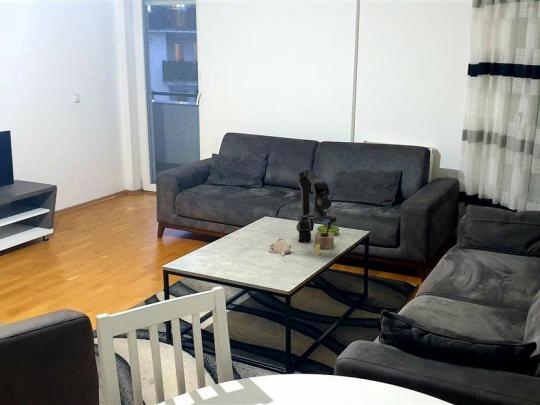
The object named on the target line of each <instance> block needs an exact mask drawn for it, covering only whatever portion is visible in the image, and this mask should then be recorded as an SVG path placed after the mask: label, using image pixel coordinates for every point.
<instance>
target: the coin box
mask: <svg viewBox="0 0 540 405" xmlns="http://www.w3.org/2000/svg"><path fill="white" fill-rule="evenodd" d="M334 236H335V233H331V232H328V233H327V232H319V231H316V232H315V235H314V246H315V245H316V244H320V250H324V249H332V250H331V251H334V245H333V244H335V243H334V242H335V240H334V238H335V237H334Z"/></svg>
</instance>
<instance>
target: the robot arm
mask: <svg viewBox="0 0 540 405" xmlns="http://www.w3.org/2000/svg"><path fill="white" fill-rule="evenodd" d="M296 181H297V185H298V186H299V188H300V198H301V199H300V200H301V203H300V204H301V214H300V216H299V218H298V222H297V225H296V231H297V232H298V243H310V242H311V241H312V232H313V231H314V227H315V223H314V222H321V223H322V222H324V221H323V220H324V219H325V220H327V223H328V227H327V233H328V231H329V228H330V226H332V224H334V223H336V222H337V219H338V217H337V214H336V213H334V214H329V216H327V213H328V212H327V211H325V210H328V209H330V208H331V206H332V201H331V199H329V196H330V189H329V186H328V183H327V181H325V180H324V179H320V178H319V176H318V175H317V174H316V173H315V171H314V169H312V168H311V169H310V168H309V169H304V170H303V171H302V172H300V173H298V174H297V176H296ZM310 188H311V190H312V192H313V196H314V197H313V199H314V200H313V213H312V214H311V213H310V212H311V211H310V207H311V206H310ZM328 219H329V221H328Z"/></svg>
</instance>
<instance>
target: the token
mask: <svg viewBox="0 0 540 405" xmlns="http://www.w3.org/2000/svg"><path fill="white" fill-rule="evenodd" d="M316 255H319V256H320V255H321V249H320V244H316V245H315V244H314V256H316Z"/></svg>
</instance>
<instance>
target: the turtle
mask: <svg viewBox="0 0 540 405" xmlns="http://www.w3.org/2000/svg"><path fill="white" fill-rule="evenodd" d="M286 240H287V238H285V237H279V238H277V239H276V242H272V243H271V244H270V247H269V248H268V251H269V252H270V253H271V254H272V253H275V254H277V255H281V256H282V257H284V256H285V254H287V253H288V254H289V253H290V252H291V249H292V247H294V246H296V242H293V243H289V242H287V241H286Z"/></svg>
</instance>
